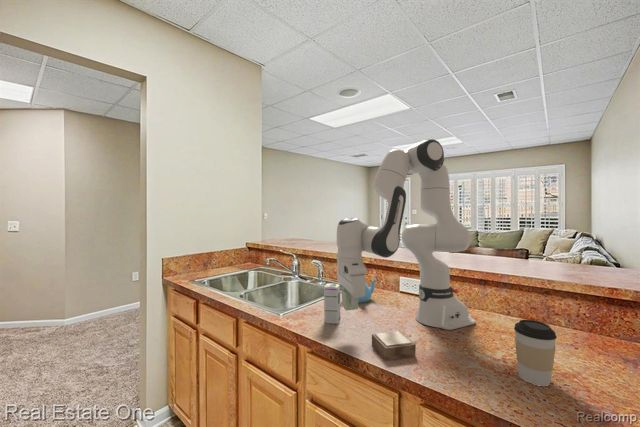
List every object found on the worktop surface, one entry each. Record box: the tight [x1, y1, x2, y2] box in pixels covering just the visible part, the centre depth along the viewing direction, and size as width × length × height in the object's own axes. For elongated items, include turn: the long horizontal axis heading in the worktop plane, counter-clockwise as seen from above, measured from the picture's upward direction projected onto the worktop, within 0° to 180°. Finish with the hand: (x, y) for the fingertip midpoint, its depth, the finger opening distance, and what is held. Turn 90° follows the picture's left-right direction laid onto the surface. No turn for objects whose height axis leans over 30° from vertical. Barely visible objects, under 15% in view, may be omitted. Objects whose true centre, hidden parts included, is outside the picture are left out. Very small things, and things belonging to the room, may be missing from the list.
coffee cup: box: [513, 319, 558, 386], centre depth 76 cm, size 9×9×15 cm
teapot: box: [341, 278, 378, 304], centre depth 143 cm, size 15×15×10 cm
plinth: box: [371, 330, 417, 361], centre depth 92 cm, size 10×10×4 cm
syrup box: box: [323, 282, 341, 325], centre depth 116 cm, size 6×6×14 cm
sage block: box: [341, 289, 359, 311], centre depth 103 cm, size 4×4×6 cm
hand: (350, 301), depth 103 cm, fingers closed on sage block, 4 cm apart
